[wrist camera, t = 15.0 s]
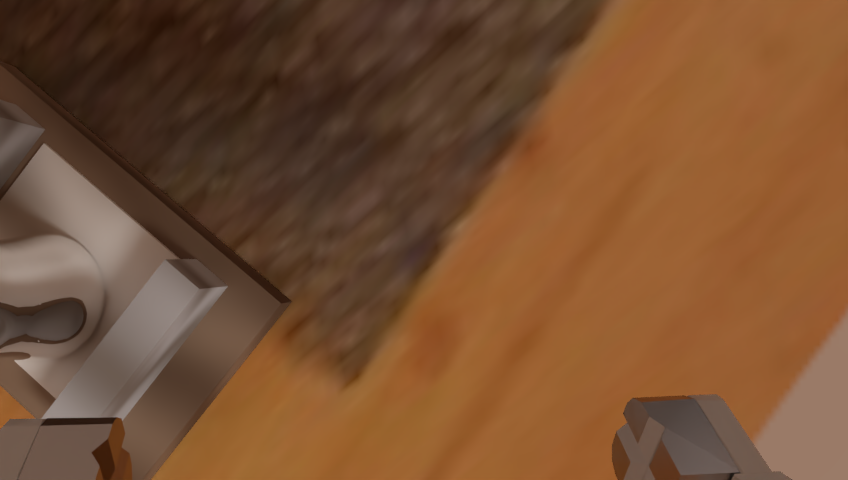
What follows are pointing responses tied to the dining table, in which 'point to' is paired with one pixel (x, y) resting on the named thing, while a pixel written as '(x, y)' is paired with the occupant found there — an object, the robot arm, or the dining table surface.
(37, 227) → the rail board
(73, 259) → the beer glass
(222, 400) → the dining table surface
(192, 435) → the dining table surface
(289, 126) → the dining table surface
